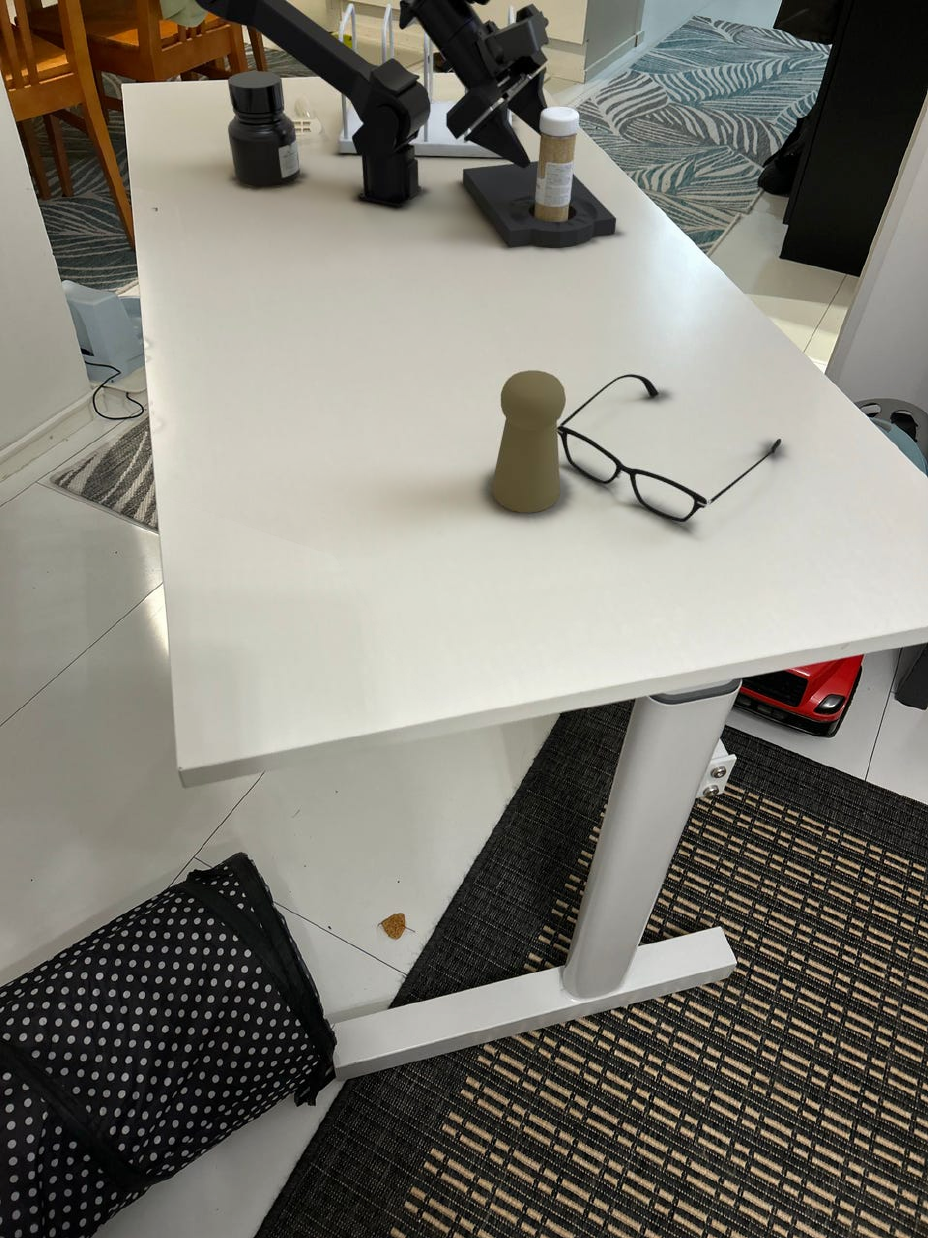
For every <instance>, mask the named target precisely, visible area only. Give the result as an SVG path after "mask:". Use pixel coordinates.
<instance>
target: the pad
mask: <svg viewBox="0 0 928 1238" xmlns="http://www.w3.org/2000/svg"><path fill="white" fill-rule="evenodd" d="M538 161H539V160H536V161H530V162H531V163H530V164H529V165H528V166H527V167H526V168H525V169H523V168H521V167H519V166H517V165H516V164H514V163H507V164H497V165H487V166H479V167H470V168H468V167H467V168H463V169H462V185H463V186H464V188H465V189H466V190H467V192H468V193H469V194H470V196H471V197H472V199H473V200H474V201H475V202H476V204H477V205H478V207H479V209H481V210H482V213H484V215H485V216H486V217H487V219H488V220H489V221H490V223H491V224H492V225H493V227H494V228H495V229H496V231H497V232H498V233H499V235H500V236H501V238H502V239H503V240H504V242H505V243H506V245H507V246H508V248H515V247H523V246H531V245H534V246H538V247H544V248H565V247H572V246H574V247H575V246H578V245H580V244H583V243H586V242H589V241H590V240H591V239H592V238H597V237H603V236H611V235H615V231H616V226H617V225H616V224H617V217H616V216H614V214H613V213H612V212H611V211H610V210H609V209H608V208H607V207H606V206H605V205H604V204H603V203H602V202H601V201H600V199H598V198H597V197H596V196H595V195H594V194H593V193H592V191H591V190H590V189H589V188H587V186H586V185H585V184H584V183H583V182H582V181H581V180H580V179H579V178H578V177H577V176H576V175H575V174H574V173H573V177H572V187H571V196H570V202H569V208H568V218H567V221H561V222H547V221H542V220H538V219H536V218H534V216H535V203H536V199H535V196H536V183H537V170H538Z"/></svg>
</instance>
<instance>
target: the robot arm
mask: <svg viewBox="0 0 928 1238" xmlns="http://www.w3.org/2000/svg"><path fill="white" fill-rule="evenodd" d="M194 1H195V3H196V4H197V5H198V6H199V7H200V8H201V9H203V10H204V11H206V12H208V13H209V14H212V15H213V16H216V17H217V18H219V19H221V20H223V21H226V22H228V23H233V24H236V25H241V26H243V27H248V28H252V29H253V30H255V31H257V32H258V33H259V34H261V35H263V36H264V37H265V38H266V39H268V40H269V41H271V42H272V43H273V44H274V45H276V46H277V47H278V48H279V49H282V51H284V52H285V53H286V54H288V56H290V57H292V58H293V59H294V60H296V61H297V62H299V63H300V64H301V65H303V66H304V67H305V68H307V69H308V70H309V71H311V72H312V73H314V74H315V75H316V76H318V77H319V78H320V79H322V80H323V81H324V82H325V83H327V85H329V86H331V87H332V88H334V89H335V90H336V91H337V92H339V93H340V94H341V93H342V94H343V95H344V96H346V99H347V100H349V102H350V103H352V105H353V107H354V109H355V111H356V113H357V115H358V117H359V119H360V120H361V122H362V123H363V125H362V126H361V127H360V128H359V129H358V130H357V131H356V132H355V133H354V135H353V136H352V141H353V144H354V146H355V149H356V152H357V153H356V154H357V155H360V156H361V165H362V167H361V168H362V179H363V180H362V182H363V189H362V190H361V191H360V192H359V193H358V194H357V198H358V200H361V201H362V200H363V201H367V202H372V203H376V204H381V205H387V206H391V207H396V208H401V207H403V206H404V205H405V204H406V203H408V202H409V201H410V200H412V199H413V198H414V197H415V196H417V194H419V193H420V192H421V191H422V186H421V185H419V161H418V159H417V158H416V157H415V156H416V155H415V148H414V145H410V144H409V143H410V142H411V141H412V140H413V139H416V138H417V137H418V134H419V130H420V128H421V127H422V126H423V125H424V124H426V122H427V120H428V119H429V116H430V112H431V104H430V100H429V91H428V92H427V90H426V88H425V87H424V84H422V83H421V82H420V81H418V80H420V78H421V76H420V75H419V74H415V73H412V72H410V71H409V70H408V69H406V68H405V66H404V65H403V64H401V62H400V61H398V60H397V59H395V57H394V58H391V59H390V58H389V59H388V60H387V61H386V62H384V63H383V64H382V63H381V64H380V65H377V64H374V63H371V62H369V61H368V60H366V59H365V58H364V57H362V56H361V55H360V54H358V52H357V53H355V52H354V51H353V49H352V48H350V47H349V46H347V45H346V44H345V43H344V42H343V43H342V42H341V41H339V40H338V38H337V37H336V36H334V35H333V34H331V33H330V32H329V31H327V30H326V29H325V28H324V27H322V26H321V25H320V24H318V23H317V22H316V21H314V20H313V19H311V18H310V17H309V16H307V15H306V13H305V14H304V13H303V12H302V11H301V10H300V9H298V8H297V7H296V6H294V5H293V4H291V3H290V2H289V1H288V0H194ZM491 1H492V0H400V1H399V3H398V5H399V8H400V10H399V12H400V13H399V19H398V21H399V22H398V27H399V29H400V30H402V31H403V30H405V29H407V28H409V27H411V26H412V25H414V24H416V23H417V22H418V24H419V26H420V27H421V28H422V30H423V32H424V31H425V32H426V34H427V35H428V39H429V38H430V39H431V41H432V42H433V46H434V47H435V48H436V49H437V51H438V52H439V53H440V55H441V56H442V58H443V59H444V62H442V64H441V65H440V68H441V69H442V70H443V72H444V73H445V74H448V73H449V72H450V71H452V72H453V73H454V75H455V76H456V77H457V79H458V81H459V82H460V84H461V85H462V86H463V88H464V90H465V89H466V90H467V93H466V94H465V93H464V95H463V96H462V97H460V99H459V100H458V101H456V102H457V103H456V104H455V105H454V106H453V107H452V108H451V109H450V110H449V111H448V112H447V114H446V126H447V128H448V129H449V130H450V132H451V133H452V135H453V136H454V137H455V139H456V140H457V139H458V138H459V137H461V136H462V135H463V134H464V133H466V132H467V131H468V130H469V129H470V130H471V132H470V133H469V134H468V135H467V136H466V137H465V138H464V140H465V141H466V142H468V141H471V142H473V143H475V144H477V145H479V146H481V147H483V148H486V149H488V150H490V151H492V152H494V153H495V154H497V155H499V156H501V157H500V158H503V159H505V160H507V161H508V162H510V163H511V164H516V165H517V166H519V167H521V168H523V169H525V168H526V167H527V166H528V165H529V164H530V163H531V162H532V161H531V159H530V157H529V155H528V153H527V151H526V149H525V147H524V146H523V144H522V142H521V140H520V139H519V137H518V135H517V133H516V132H515V130H514V128H513V125H512V126H511V124H510V123H509V121H508V117H507V115H508V109H509V110H511V111H512V113H513V114H514V115H515V116H516V117H518V118H519V119H520V120H521V121H523V122H524V123H525V124H526V125H527V126H528V127H529V128H531V129H532V130H533V131H534V132H536V134H537V135H539V136H540V137H541V133H540V131H541V130H540V116H541V112H542V111H543V110H544V109H546V108H549V107H548V103H547V101H546V98H545V94H544V81H545V75H546V73H547V66H544V65H545V64H546V63H547V62H548V59H549V58H547V56H546V54H545V53H544V52H543V50H542V47H543V46H548V45H549V44H550V40H549V36H548V33H547V28H548V26H549V24H550V23H549V19H548V18H547V17H545V16H544V13H543V11H542V10H539V9H538V8H537V7H536V5H534V3H530V4H528V5H526V6H523V7H521V8H520V9H518V10H517V11H516V14H515V15H516V16H515V22H514V23H512V24H510V25H509V26H508V25H507V26H504V27H502V28H499V27H498V25H497V24H496V23H495V22H494V21H493V20H490V19H489V20H487V21H485V22H483V21H482V19H481V18H480V16H479V15H478V13H477V12H476V10H475V8H474V7H473V6H472V5H475V4H477V5H481V6H487V5H488V4H489V3H490V2H491ZM543 66H544V67H543ZM541 67H543V68H541ZM538 70H539V71H538ZM508 97H510V98H511V99H510V100H509V101H508V99H507V98H508ZM500 99H504V101H501V102H499V100H500ZM468 128H469V129H468Z"/></svg>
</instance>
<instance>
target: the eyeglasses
mask: <svg viewBox="0 0 928 1238" xmlns="http://www.w3.org/2000/svg"><path fill="white" fill-rule="evenodd" d="M626 378H634V379H638V380H639V381H640V382H641V383H642V384H643V385H644V387H645V389H646V391H647V393H648V395H649V397H651V398H652V397H657V396H659V395H660V393H659V392H658V389H656V387H655V385H654V384H653V383H652V381H650V380H649V379H648V378H646V377H644V376H642V375H640V374H639V375H638V374H633V373H629V374H624V375H621V376H618V377H616V378H614V379H613V380H611V381H610V382H609V383H607V384H606V385H604V386H603V387H602V388H601V389H600V390H599V391H597V392H596V393H595V394H593V396H591V397H590V398H589V399H587V400H586V402H584V403H583V404H582V405H581V406H579V407H578V408H577V409H576V410H574V412H573V413H571V414H570V415H569V416H568V417H567V418H565V419H564V420H563V421H562V422H561V423H560V424H558V425H557V435H558V436H559V437H560V440H561V443H562V447H563V450H564V454H565V457H566V460H567V461H568V463H569V465H571V466H572V467H573V468H574V469H575V470H576V471H578V472H579V473H581V474H583V475H584V476H586V477H587V478H588V479H590V480H593V481H594V482H596V483H599V484H602V485H608V484H610V483H611V482H613V481H614V480H615V479H620V478H621V477H622V475H621V474H622V473H626V474H627V475H629V480H630V483H631V487H632V489H633V492H634V495H635V497H636V499H637V501H638V502H639V504H641V505H642V506H643V507H645V508H646V509H648V510H650V511H651V512H653V513H655V514H657V515H658V516H661V517H663V518H666V519H669V520H671V521H675V522H678V523H685V522H687V521H688V520H689V519H690V518H692V517H693V516H694V515H695V514H696V512H697V511H698V510H699V509H705V508H706V507H708V506H710V505H711V504H713V503H714V502H715V501H716V500H718V499H719V498H720V497H721V496H723V494H725V493H726V492H727V491H728V490H730V489H731V488H732V487H733V486H734V485H736V484H737V483H738V482H739V481H740V480H741V479H743V478H744V477H745V476H746V475H748V474H749V473H750V472H751V471H752V470H754V469H755V468H756V467H757V466H759V464H761V463H762V462H763V461H764V460H765V459H766V458H768V457H769V456H770V455H772V454H775V452H776V450H777V448H778V447H780V446H781V443H782V439H781V438H778V439H777V440H775V442H774V443H773V445H772V446H771V448H770V451H769V452H767V454H765V455H764V456H763V457H762V458H760V460H758V461H757V462H755V464H753V465H752V466H751V467H750V468H748V469H747V470H746V471H745V472H743V473H742V474H740V475H739V476H738V477H737V478H736V479H735V480H733V481H732V482H731V483H729V484H728V485H727V486H726V487H725V488H723V489H722V490H720V492H718V493H717V494H716V495H715V496H713V497H711V499H708V500H707V498H705V497H704V496H702V495H701V494H699V493H697V492H695V491H694V490H692V489H691V488H688V487H687V486H685V485H682V484H680V483H679V482H676V481H674V480H672V479H670V478H667V477H665V476H663V475H661V474H657V473H654V472H650V471H648V470H644V469H639V468H634V467H633V468H632V467H629V466H626V465H625V464H623V462H622V461H621V460H620V459H619V458H617V457H616V456H615V455H614V454H612V452H610V451H608V450H607V449H606V448H604V447H603V446H601V445H600V444H598V443H597V442H595V441H594V440H593V439H592V438H591V439H590V438H589V437H587V436H586V435H584V434H581V433H579V432H577V431H575V430H573V429H571V428H569V427H566V426H565V425H566V424H568V422H570V421H571V420H572V419H573V418H574V417H575V416H576V415H578V414H579V413H580V412H581V411H582V410H583V409H584V408H585V407H586V406H588V405H589V404H590V403H591V402H592V401H593V400H594V399H595V398H597V396H599V395H600V394H601V393H602V392H603V391H604V390H606V389H607V388H609V387H610V386H611V385H612V384H614V383H615V382H617V381H619V380H622V379H626ZM568 435H570V436H573V437H575V438H577V439H579V440H581V441H582V442H585V443H587V444H588V445H590V446H592V447H594V448H595V449H596V450H598V451H599V452H601V453H602V454H603V455H604V456H605V457H607V458H608V459H610V460H611V461H612V462H613V463H614V464H615V470H614V473H613V474H612V476H611V477H610V478H608V479H607V480H603V479H601V478H597V477H596V476H594V475H592V474H591V473H589V472H587V471H586V470H584V469H583V468H581V467H580V466H579V465H578V464H576V463H575V462H574V460H573V458H572V457H571V454H570V453H571V452H570V450H569V445H568ZM637 475H640V476H645V477H649V478H651V479H654V480H657V481H660V482H663V483H664V484H667V485H669V486H672V487H674V488H675V489H678V490H679V491H681V492H683V493H685V494H686V495H688V496H689V497H691V498H692V499H693V506H692V509H691V511H690V512H689V513H688V514H687V515H686V516H685V517H683V518H681V517H677V516H674V515H671V514H668V513H666V512H663V511H660V510H659V509H656V508H655V507H653V506H651V505H650V504H648V503H646V502H645V501H644V499H643V497H642V496H641V494H640V491H639V489H638V484H637V478H636V477H637Z"/></svg>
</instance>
